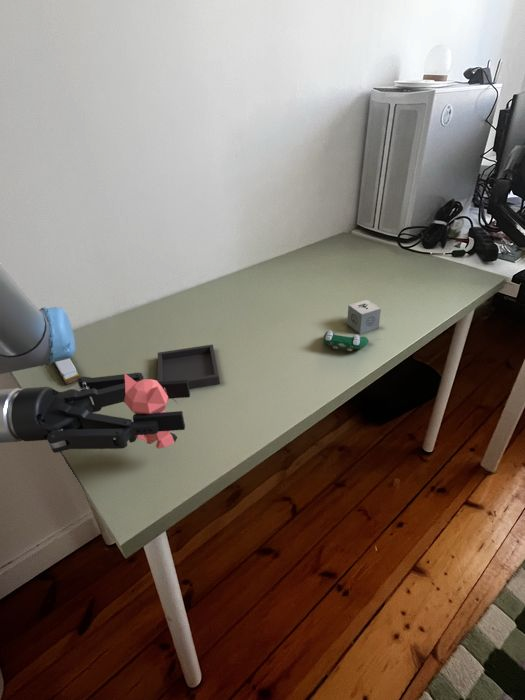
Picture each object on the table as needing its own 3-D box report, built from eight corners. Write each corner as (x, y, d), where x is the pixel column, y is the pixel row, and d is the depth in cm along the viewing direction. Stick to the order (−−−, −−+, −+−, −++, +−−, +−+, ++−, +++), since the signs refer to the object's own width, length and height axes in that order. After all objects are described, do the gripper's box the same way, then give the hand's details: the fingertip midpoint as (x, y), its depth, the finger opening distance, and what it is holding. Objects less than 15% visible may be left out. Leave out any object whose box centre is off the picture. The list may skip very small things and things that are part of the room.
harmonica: (48, 354, 95) (45, 346, 94) (62, 349, 97) (59, 341, 96) (65, 386, 85) (62, 377, 84) (81, 379, 87) (78, 371, 86)
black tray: (159, 393, 82) (157, 386, 81) (159, 359, 91) (157, 352, 90) (220, 384, 83) (219, 376, 82) (213, 351, 93) (212, 344, 92)
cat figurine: (191, 432, 66) (177, 372, 58) (161, 465, 61) (142, 404, 54) (155, 417, 69) (138, 357, 61) (125, 447, 64) (102, 387, 57)
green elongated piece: (323, 348, 95) (318, 342, 89) (327, 332, 95) (322, 325, 90) (365, 356, 92) (363, 350, 86) (369, 338, 92) (367, 331, 87)
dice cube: (365, 318, 101) (366, 299, 98) (378, 328, 97) (380, 308, 95) (347, 324, 100) (348, 304, 97) (360, 334, 96) (361, 314, 93)
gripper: (56, 392, 71) (195, 383, 72) (2, 487, 55) (182, 475, 55) (41, 355, 67) (189, 345, 67) (-22, 445, 51) (172, 432, 51)
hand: (185, 403), depth 61 cm, fingers closed on cat figurine, 6 cm apart
